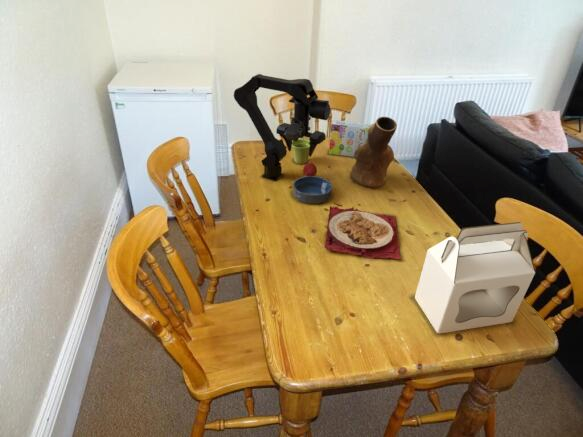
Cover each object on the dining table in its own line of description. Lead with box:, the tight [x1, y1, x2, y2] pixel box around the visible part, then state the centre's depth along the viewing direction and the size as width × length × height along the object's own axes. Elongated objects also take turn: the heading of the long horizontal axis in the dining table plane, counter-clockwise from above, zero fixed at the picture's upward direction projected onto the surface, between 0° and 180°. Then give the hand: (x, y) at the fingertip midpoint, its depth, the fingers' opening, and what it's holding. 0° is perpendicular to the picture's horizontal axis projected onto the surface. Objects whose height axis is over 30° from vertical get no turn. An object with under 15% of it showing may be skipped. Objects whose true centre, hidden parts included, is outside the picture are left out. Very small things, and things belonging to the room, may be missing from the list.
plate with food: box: [324, 202, 401, 260], centre depth 139 cm, size 24×26×4 cm
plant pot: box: [291, 138, 310, 165], centre depth 182 cm, size 9×9×9 cm
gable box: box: [414, 221, 536, 334], centre depth 104 cm, size 22×13×28 cm, turn 102°
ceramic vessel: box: [350, 116, 398, 189], centre depth 161 cm, size 16×22×30 cm
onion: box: [302, 160, 318, 177], centre depth 169 cm, size 6×6×8 cm
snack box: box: [328, 119, 373, 158], centre depth 188 cm, size 21×6×15 cm, turn 77°
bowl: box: [292, 175, 333, 205], centre depth 160 cm, size 15×15×4 cm
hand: (299, 153), depth 161 cm, fingers open, 9 cm apart
